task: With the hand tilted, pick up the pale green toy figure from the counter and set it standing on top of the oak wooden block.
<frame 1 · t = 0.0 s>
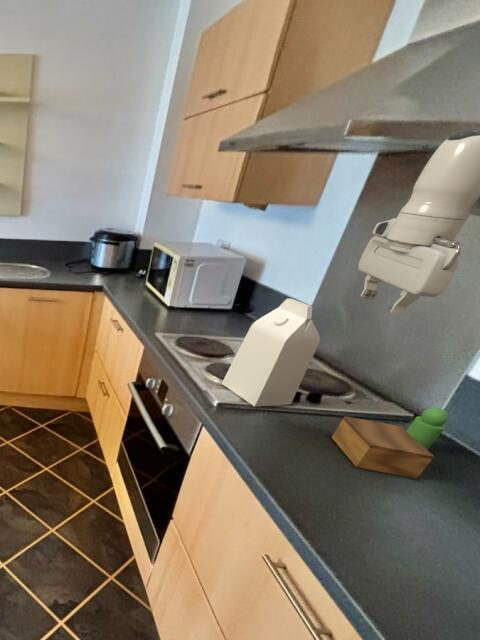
hand: (379, 305, 82), 32 cm above the counter, tool pointing down, fingers open, 8 cm apart
milk: (254, 394, 113), on the counter
oak block: (371, 456, 91), on the counter
toy: (411, 447, 96), on the counter
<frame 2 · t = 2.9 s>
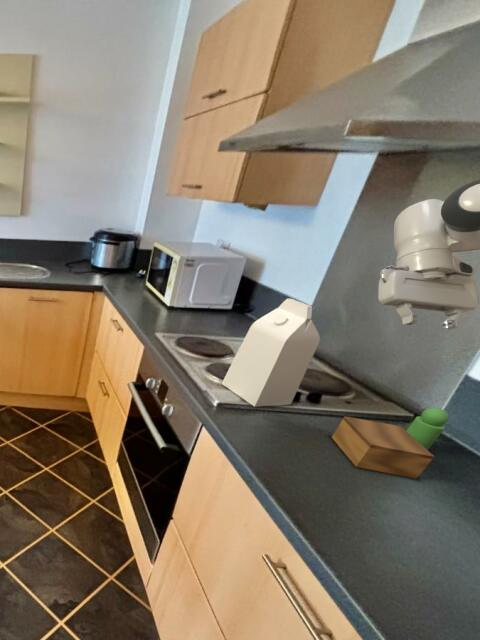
hand: (430, 326, 94), 25 cm above the counter, tool tilted 40°, fingers open, 8 cm apart
nothing on the counter moved.
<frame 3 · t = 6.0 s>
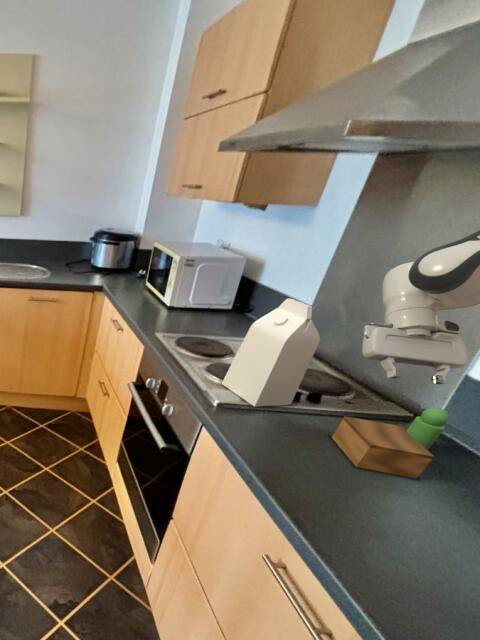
hand: (416, 380, 97), 13 cm above the counter, tool tilted 45°, fingers open, 8 cm apart
nothing on the counter moved.
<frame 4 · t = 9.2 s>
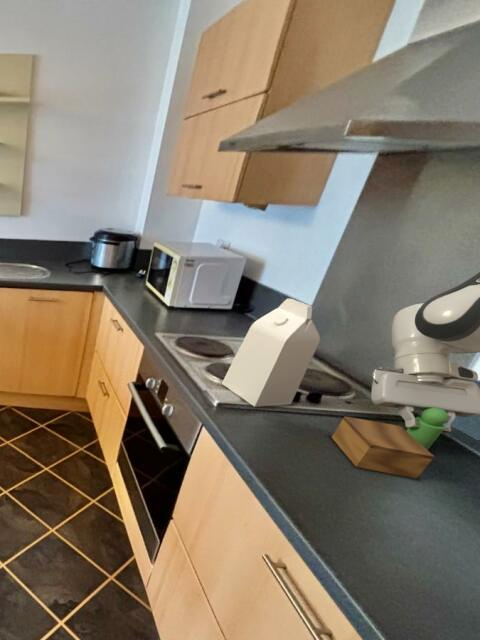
hand: (428, 429, 93), 5 cm above the counter, tool tilted 45°, fingers closed on toy, 5 cm apart
toy: (411, 447, 96), on the counter, touching gripper
everything else where it was.
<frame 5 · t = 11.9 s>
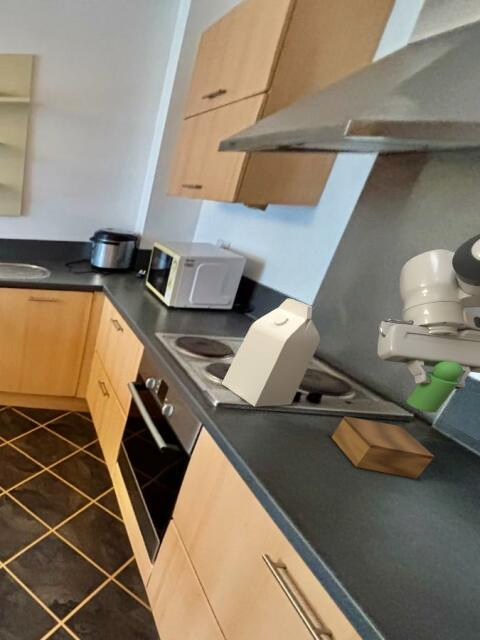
hand: (440, 385, 84), 18 cm above the counter, tool tilted 45°, fingers closed on toy, 5 cm apart
toy: (421, 406, 87), point 12 cm above the counter, touching gripper
everything else where it was.
when the fingers open (11 cm above the counter, at t = 14.9 s): toy stays where it is, resting on oak block.
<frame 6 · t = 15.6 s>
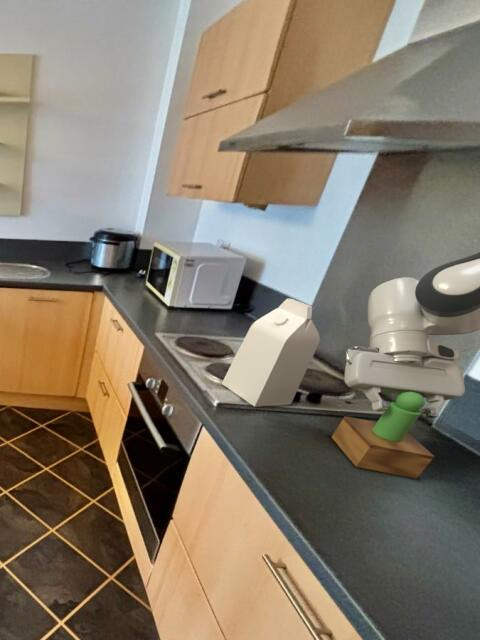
hand: (405, 413, 85), 12 cm above the counter, tool tilted 45°, fingers open, 8 cm apart
toy: (386, 434, 88), point 6 cm above the counter, touching oak block
everything else where it was.
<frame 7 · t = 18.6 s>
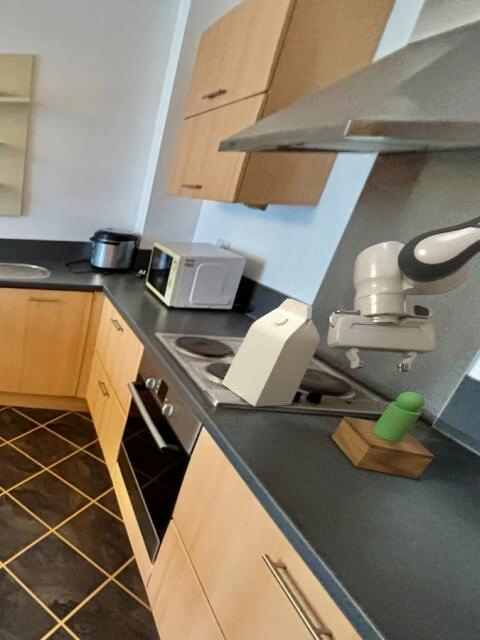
hand: (380, 369, 95), 15 cm above the counter, tool tilted 35°, fingers open, 8 cm apart
nothing on the counter moved.
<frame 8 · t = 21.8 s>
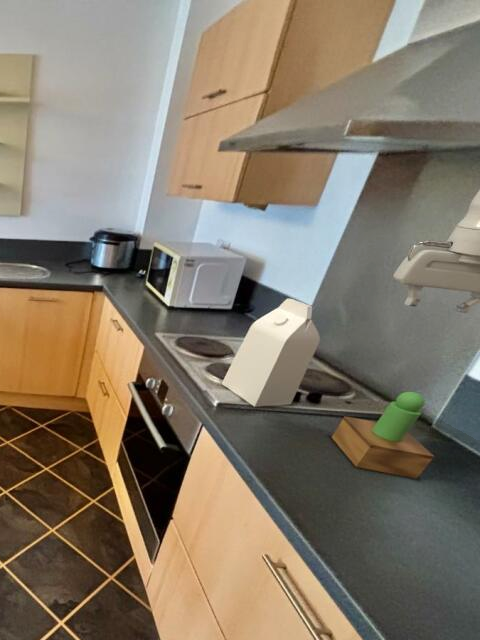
hand: (434, 308, 92), 29 cm above the counter, tool pointing down, fingers open, 8 cm apart
nothing on the counter moved.
at the end: toy inside the target area on the oak block (0.1 cm from its centre), point 6.0 cm above the oak block's base; toy tilted 0°; the gripper is holding nothing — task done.
